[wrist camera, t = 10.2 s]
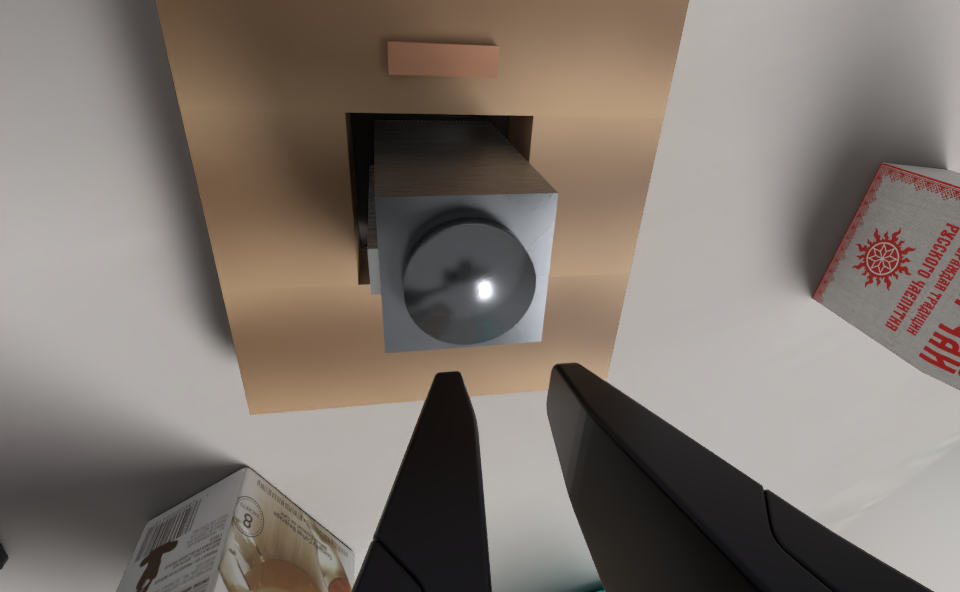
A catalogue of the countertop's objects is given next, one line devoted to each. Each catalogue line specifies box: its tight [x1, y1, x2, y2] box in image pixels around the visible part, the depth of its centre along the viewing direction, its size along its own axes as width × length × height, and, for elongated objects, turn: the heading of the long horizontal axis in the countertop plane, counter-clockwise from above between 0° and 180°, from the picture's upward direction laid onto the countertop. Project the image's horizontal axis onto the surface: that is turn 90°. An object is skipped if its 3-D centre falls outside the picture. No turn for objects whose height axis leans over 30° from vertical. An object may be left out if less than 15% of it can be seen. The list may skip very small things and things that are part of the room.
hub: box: [155, 0, 689, 415], centre depth 17 cm, size 16×14×3 cm
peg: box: [367, 121, 558, 353], centre depth 15 cm, size 4×4×9 cm
